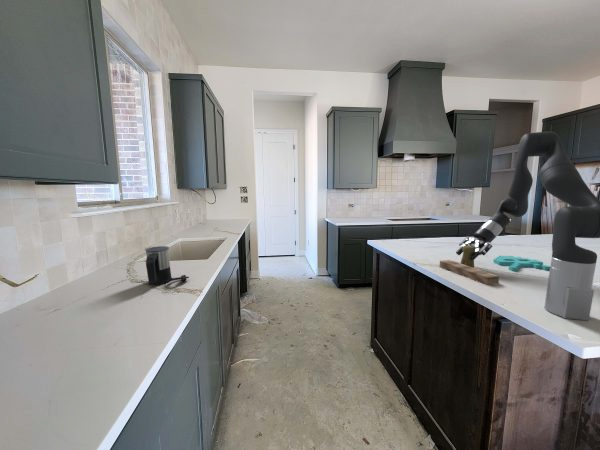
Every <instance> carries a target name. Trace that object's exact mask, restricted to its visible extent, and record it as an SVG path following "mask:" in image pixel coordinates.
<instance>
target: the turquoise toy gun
mask: <svg viewBox="0 0 600 450" xmlns="http://www.w3.org/2000/svg"><path fill="white" fill-rule="evenodd" d="M492 262H494V264H496V265H498V266H508V270H509V271H511V272H518V270H520V269H521V268H534V269H540V270H543V271H550V266H549V265H547V264H544V261H540V260H538V259H531V258H528V257H527V258H526V257H524V258H523V257H521V256H514V255H498V256H496V257H495V258H494V259H493V261H492Z"/></svg>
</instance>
